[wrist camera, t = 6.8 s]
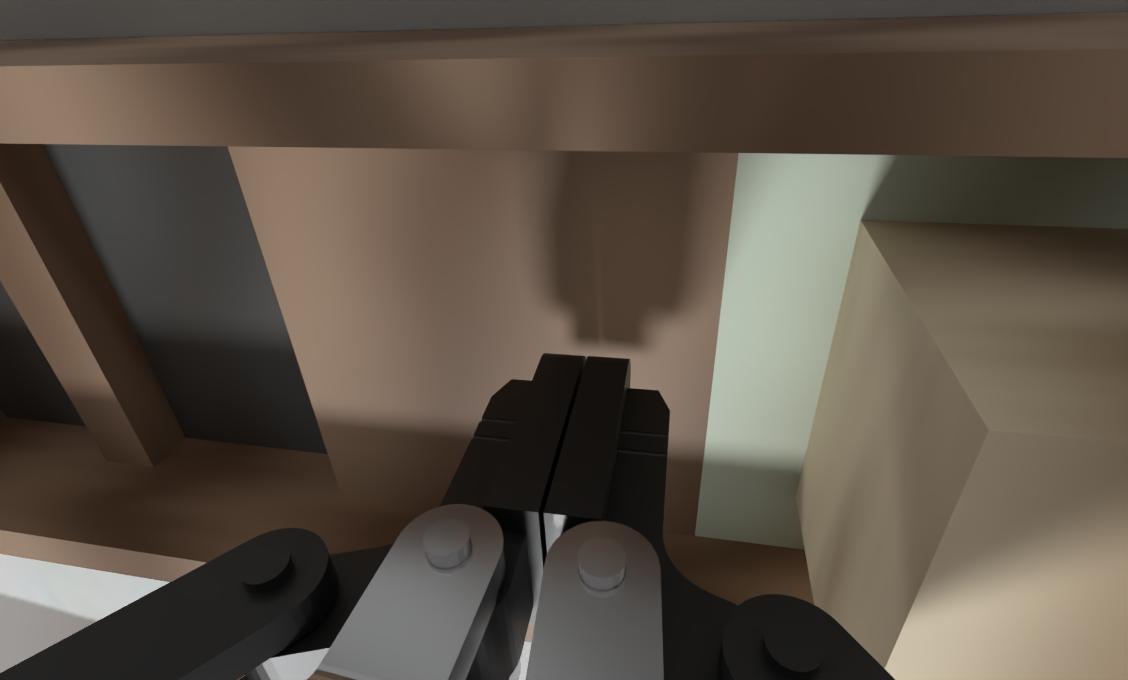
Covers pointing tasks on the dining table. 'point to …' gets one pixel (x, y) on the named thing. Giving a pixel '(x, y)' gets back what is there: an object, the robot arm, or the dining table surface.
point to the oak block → (976, 453)
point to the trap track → (482, 256)
